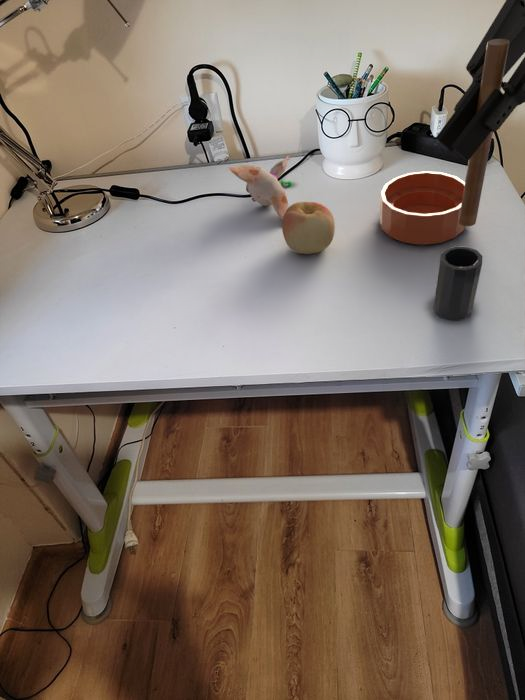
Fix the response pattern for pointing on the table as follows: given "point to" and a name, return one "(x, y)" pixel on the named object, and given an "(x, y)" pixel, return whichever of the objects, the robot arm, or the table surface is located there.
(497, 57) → the stick
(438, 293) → the utensil pot
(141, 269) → the table surface
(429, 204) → the bowl
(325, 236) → the apple
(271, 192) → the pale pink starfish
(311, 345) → the table surface
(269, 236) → the table surface
